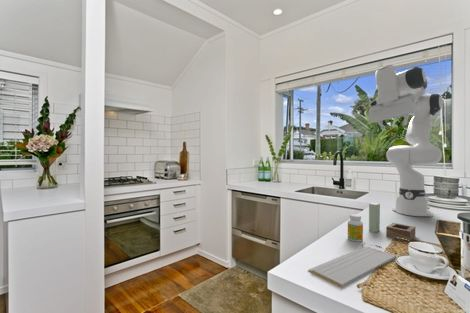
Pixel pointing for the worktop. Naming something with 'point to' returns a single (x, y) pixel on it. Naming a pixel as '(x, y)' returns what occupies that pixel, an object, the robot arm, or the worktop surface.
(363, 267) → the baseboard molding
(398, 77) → the robot arm
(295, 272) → the worktop surface
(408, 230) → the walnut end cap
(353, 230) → the supplement bottle
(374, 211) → the sage green tall block
